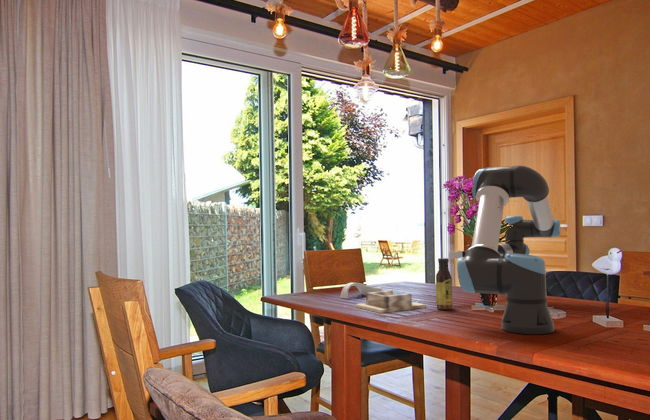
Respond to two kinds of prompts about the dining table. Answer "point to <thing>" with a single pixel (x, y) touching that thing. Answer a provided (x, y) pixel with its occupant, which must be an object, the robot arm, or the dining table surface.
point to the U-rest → (389, 302)
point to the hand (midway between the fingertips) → (461, 256)
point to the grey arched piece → (361, 288)
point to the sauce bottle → (443, 285)
